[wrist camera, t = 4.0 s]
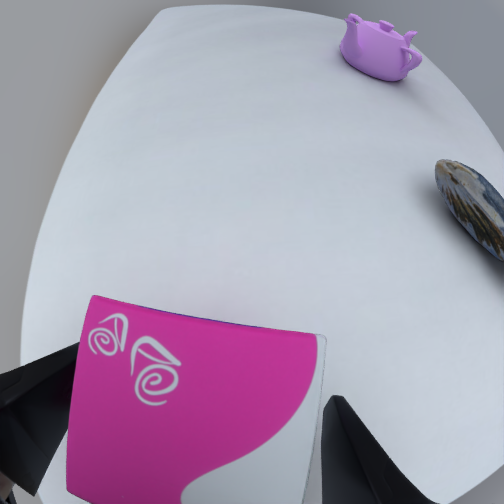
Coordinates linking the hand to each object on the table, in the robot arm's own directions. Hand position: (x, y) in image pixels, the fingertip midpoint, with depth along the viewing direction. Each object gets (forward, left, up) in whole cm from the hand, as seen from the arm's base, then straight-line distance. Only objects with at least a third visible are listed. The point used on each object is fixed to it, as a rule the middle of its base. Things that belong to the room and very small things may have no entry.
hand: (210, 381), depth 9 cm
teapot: (+44, +13, -7) cm, 46 cm away
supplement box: (-1, -1, -7) cm, 7 cm away
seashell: (+25, -11, -7) cm, 28 cm away
